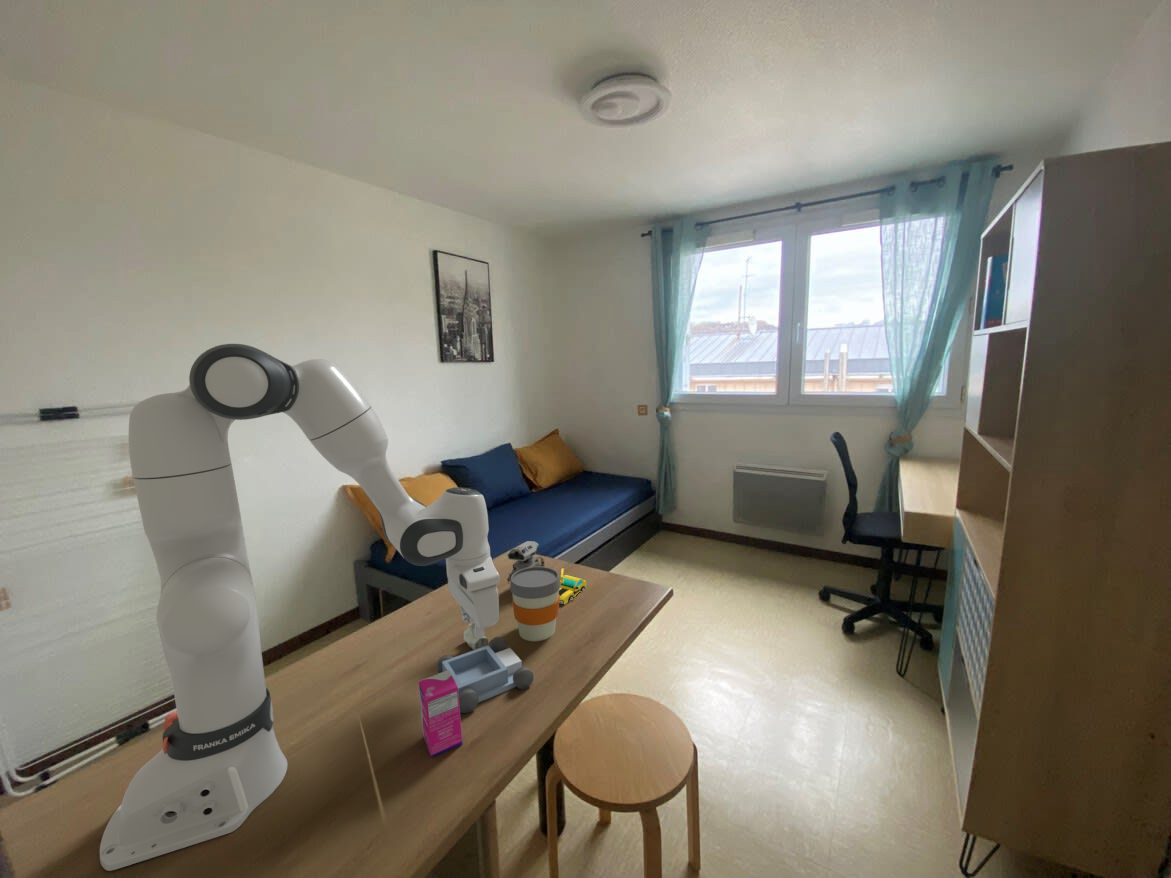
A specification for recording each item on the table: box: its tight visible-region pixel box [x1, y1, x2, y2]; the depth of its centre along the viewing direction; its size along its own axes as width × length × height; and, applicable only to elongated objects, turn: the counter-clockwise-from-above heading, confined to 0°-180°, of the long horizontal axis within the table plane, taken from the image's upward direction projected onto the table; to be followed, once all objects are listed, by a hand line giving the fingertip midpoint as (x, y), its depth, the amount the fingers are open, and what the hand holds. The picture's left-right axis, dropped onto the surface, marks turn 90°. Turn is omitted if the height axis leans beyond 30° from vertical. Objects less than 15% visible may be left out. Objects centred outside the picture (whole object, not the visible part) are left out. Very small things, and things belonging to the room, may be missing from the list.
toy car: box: [559, 568, 587, 605], centre depth 136 cm, size 12×8×8 cm, turn 149°
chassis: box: [435, 636, 534, 714], centre depth 100 cm, size 16×15×4 cm
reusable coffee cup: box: [509, 566, 561, 642], centre depth 117 cm, size 13×13×15 cm
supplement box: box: [417, 670, 464, 758], centre depth 83 cm, size 6×6×12 cm
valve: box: [463, 619, 489, 651], centre depth 112 cm, size 7×7×12 cm
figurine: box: [506, 540, 546, 583], centre depth 139 cm, size 9×12×15 cm
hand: (473, 628), depth 97 cm, fingers open, 6 cm apart
